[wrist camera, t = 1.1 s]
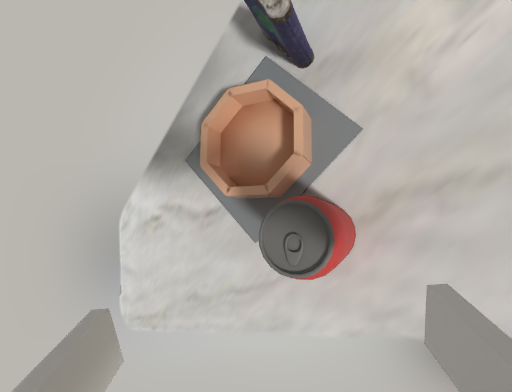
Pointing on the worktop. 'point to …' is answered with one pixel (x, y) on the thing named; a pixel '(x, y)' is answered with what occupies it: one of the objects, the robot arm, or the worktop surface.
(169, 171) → the worktop surface
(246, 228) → the mat
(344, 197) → the worktop surface
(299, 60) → the flask
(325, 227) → the beer can
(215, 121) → the dish
